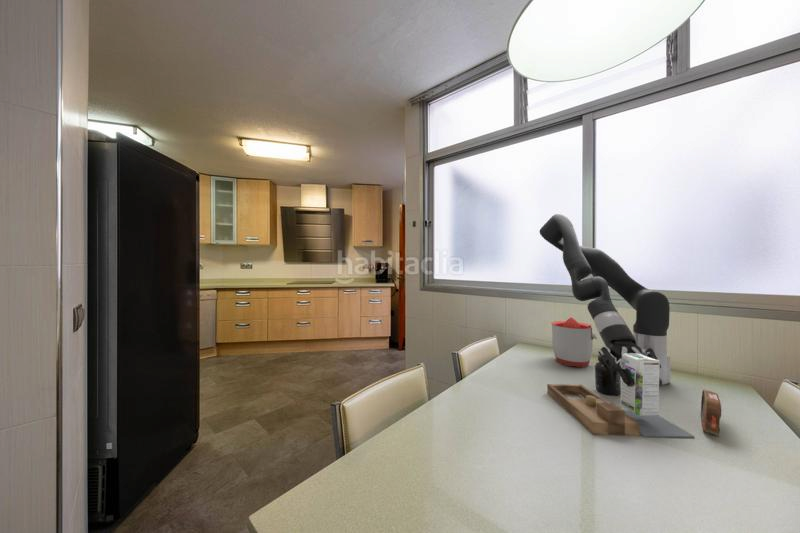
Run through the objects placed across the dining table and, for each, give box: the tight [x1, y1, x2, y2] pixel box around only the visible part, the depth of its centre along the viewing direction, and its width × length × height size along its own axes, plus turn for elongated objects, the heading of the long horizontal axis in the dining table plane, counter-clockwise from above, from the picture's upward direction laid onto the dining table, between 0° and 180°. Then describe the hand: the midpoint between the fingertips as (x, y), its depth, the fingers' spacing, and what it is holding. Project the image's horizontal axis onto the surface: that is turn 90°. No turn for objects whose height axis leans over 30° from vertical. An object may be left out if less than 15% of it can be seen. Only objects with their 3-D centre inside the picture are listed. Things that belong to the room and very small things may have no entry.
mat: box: [624, 410, 696, 439], centre depth 73 cm, size 12×12×1 cm
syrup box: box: [620, 353, 660, 416], centre depth 74 cm, size 6×6×14 cm
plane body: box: [546, 383, 641, 436], centre depth 79 cm, size 11×23×6 cm, turn 178°
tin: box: [700, 389, 722, 436], centre depth 71 cm, size 15×3×8 cm, turn 134°
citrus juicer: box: [551, 317, 599, 368], centre depth 121 cm, size 16×17×20 cm
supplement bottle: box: [594, 354, 621, 397], centre depth 92 cm, size 7×7×12 cm
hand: (644, 385), depth 72 cm, fingers closed on syrup box, 6 cm apart
